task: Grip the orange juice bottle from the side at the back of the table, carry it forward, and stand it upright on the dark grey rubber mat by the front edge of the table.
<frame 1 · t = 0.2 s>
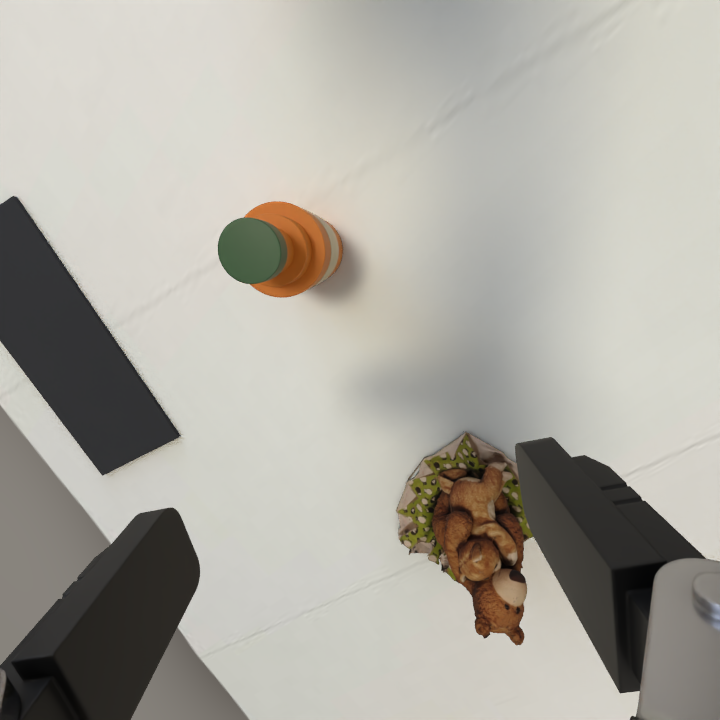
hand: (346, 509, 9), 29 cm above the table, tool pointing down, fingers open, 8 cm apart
bear figurine: (466, 501, 42), on the table
juice bottle: (311, 250, 36), on the table
front mat: (64, 347, 39), on the table
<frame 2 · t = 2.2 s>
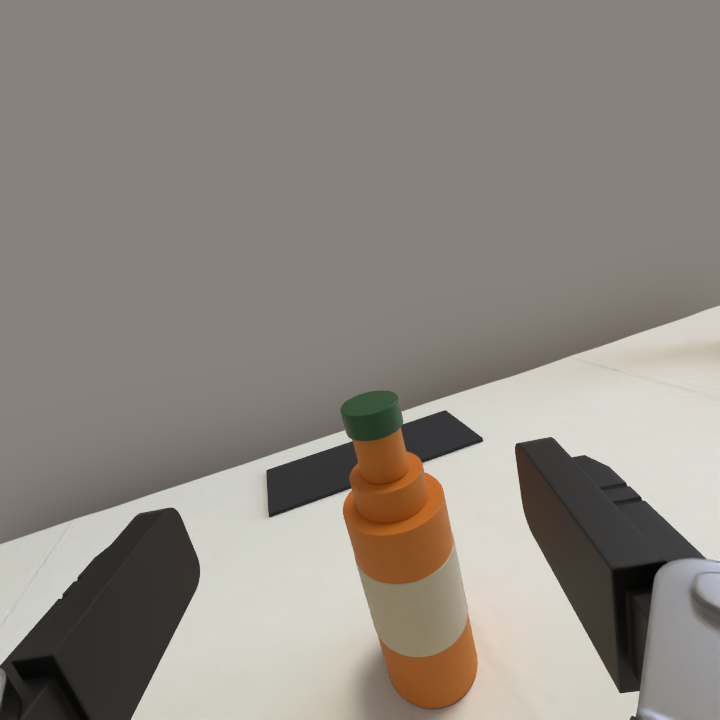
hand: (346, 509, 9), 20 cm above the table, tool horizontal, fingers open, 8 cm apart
juice bottle: (431, 659, 25), on the table
front mat: (370, 457, 51), on the table
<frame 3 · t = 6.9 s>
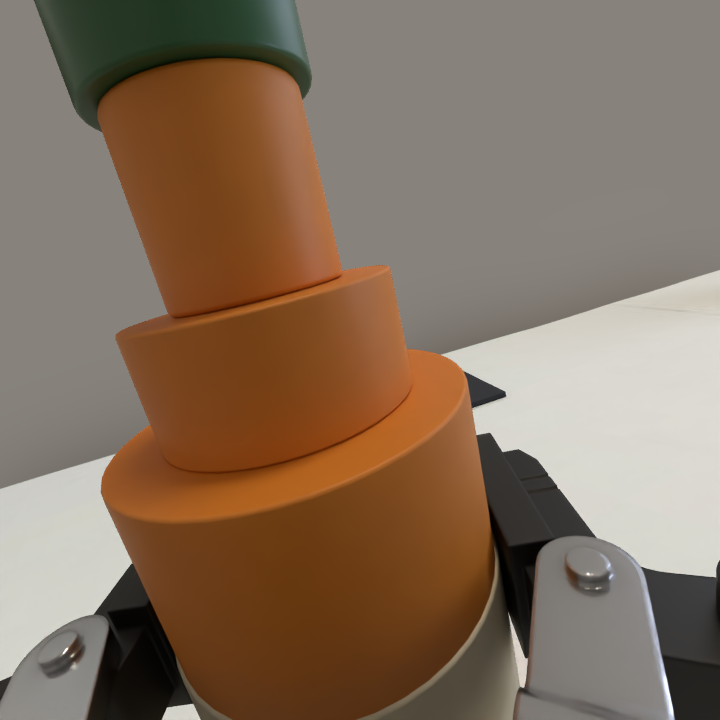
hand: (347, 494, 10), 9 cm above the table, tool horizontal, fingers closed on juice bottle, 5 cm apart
front mat: (341, 422, 35), on the table
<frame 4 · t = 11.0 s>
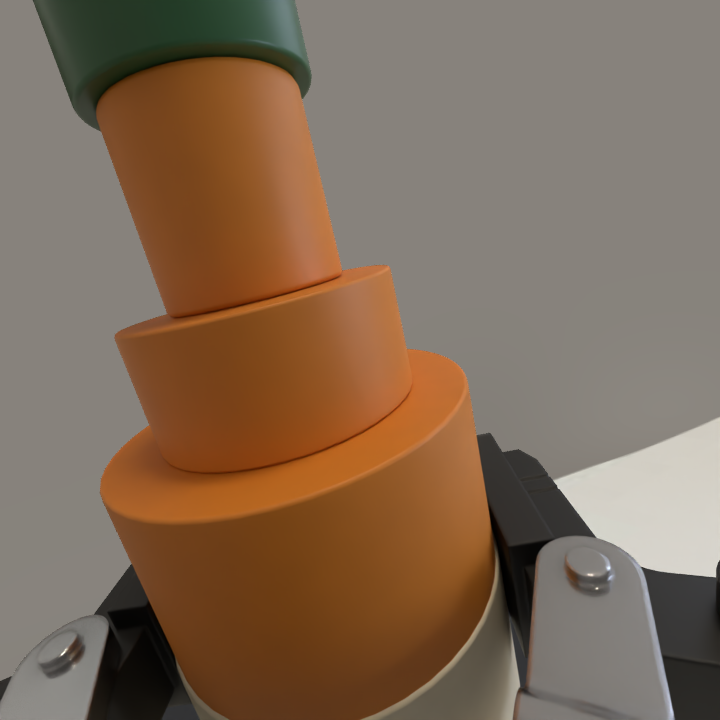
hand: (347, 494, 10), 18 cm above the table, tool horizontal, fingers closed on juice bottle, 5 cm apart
front mat: (384, 681, 23), on the table
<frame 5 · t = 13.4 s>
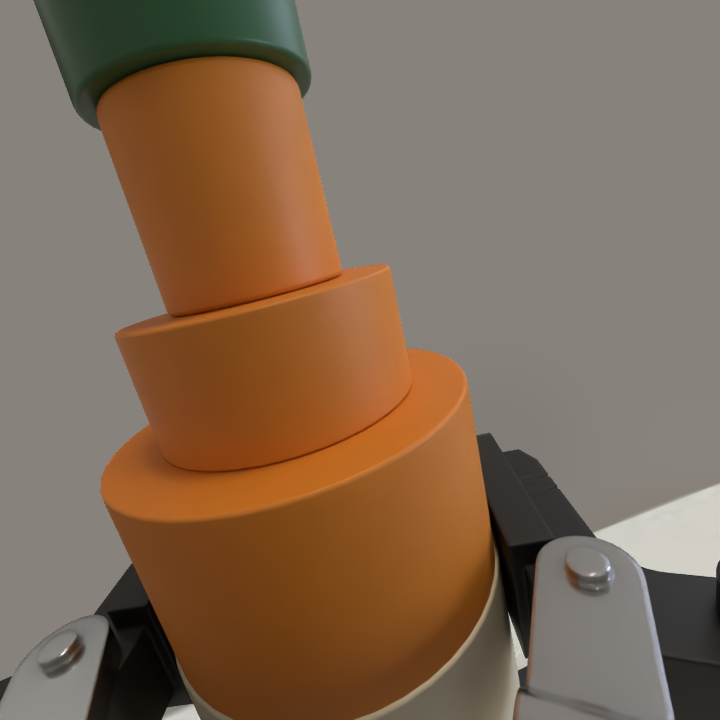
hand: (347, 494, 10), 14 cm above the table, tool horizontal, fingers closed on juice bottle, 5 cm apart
when the fingers open (9 cm above the table, at t = 15.3 s): juice bottle stays where it is, resting on front mat.
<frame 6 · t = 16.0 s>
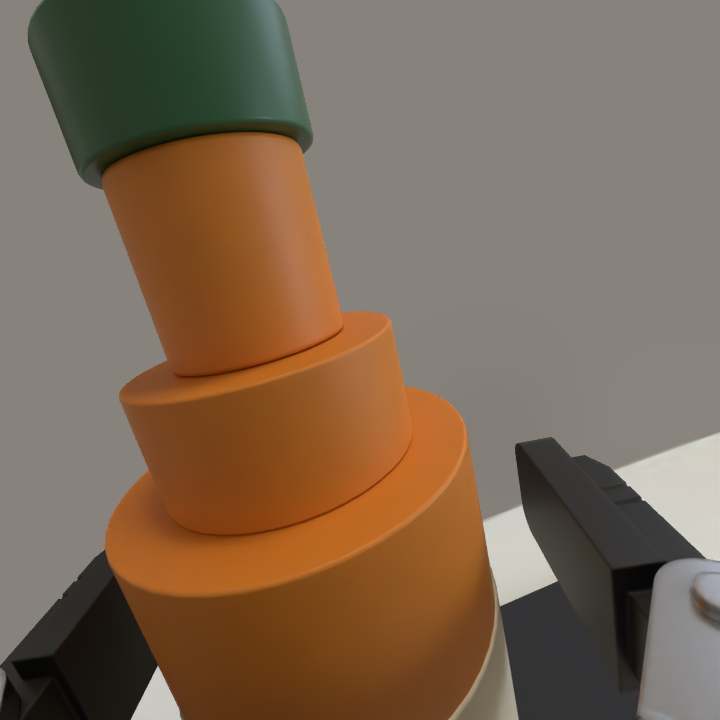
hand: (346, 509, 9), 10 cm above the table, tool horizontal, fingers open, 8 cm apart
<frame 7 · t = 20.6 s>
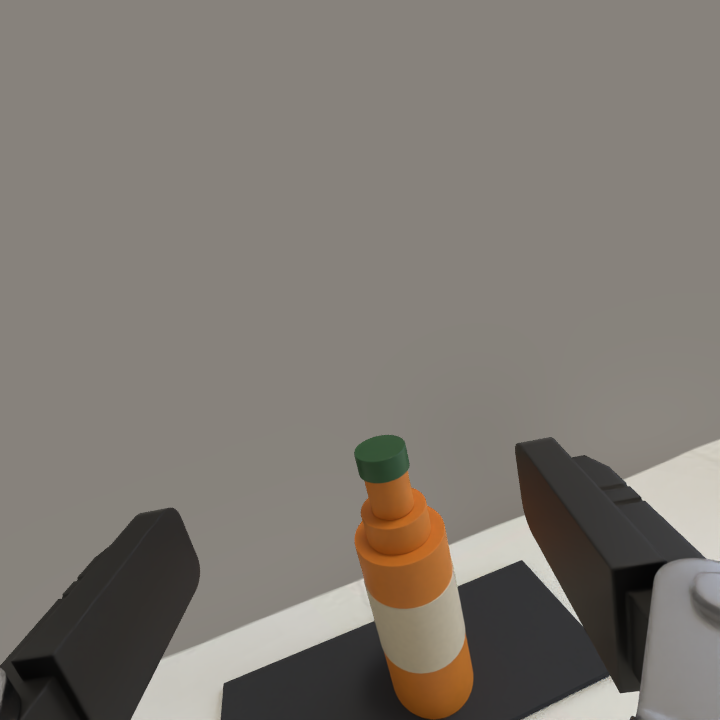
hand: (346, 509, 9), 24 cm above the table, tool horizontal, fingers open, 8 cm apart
juice bottle: (432, 673, 28), resting on front mat
front mat: (405, 679, 28), on the table
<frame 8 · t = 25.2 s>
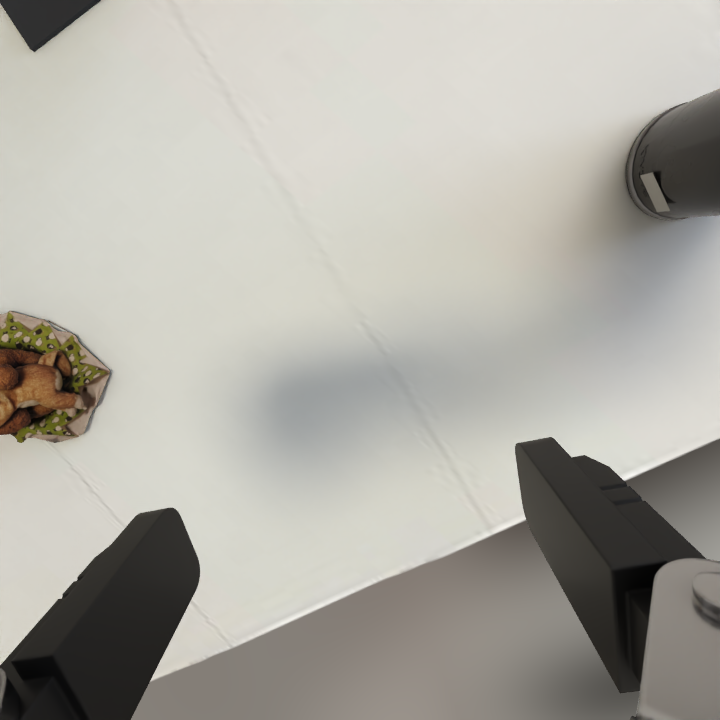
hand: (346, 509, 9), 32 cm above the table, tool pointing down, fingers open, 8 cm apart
bear figurine: (41, 377, 43), on the table
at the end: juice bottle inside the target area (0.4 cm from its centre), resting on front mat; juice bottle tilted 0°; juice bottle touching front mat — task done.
